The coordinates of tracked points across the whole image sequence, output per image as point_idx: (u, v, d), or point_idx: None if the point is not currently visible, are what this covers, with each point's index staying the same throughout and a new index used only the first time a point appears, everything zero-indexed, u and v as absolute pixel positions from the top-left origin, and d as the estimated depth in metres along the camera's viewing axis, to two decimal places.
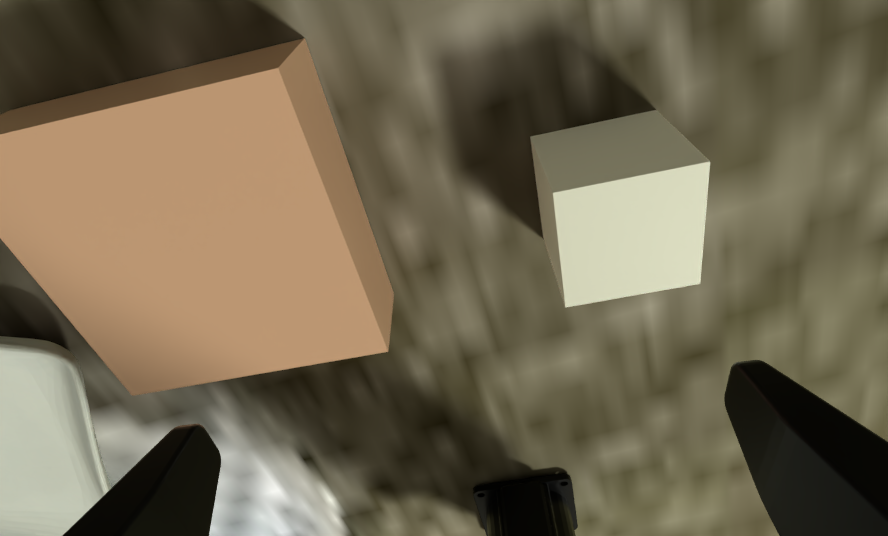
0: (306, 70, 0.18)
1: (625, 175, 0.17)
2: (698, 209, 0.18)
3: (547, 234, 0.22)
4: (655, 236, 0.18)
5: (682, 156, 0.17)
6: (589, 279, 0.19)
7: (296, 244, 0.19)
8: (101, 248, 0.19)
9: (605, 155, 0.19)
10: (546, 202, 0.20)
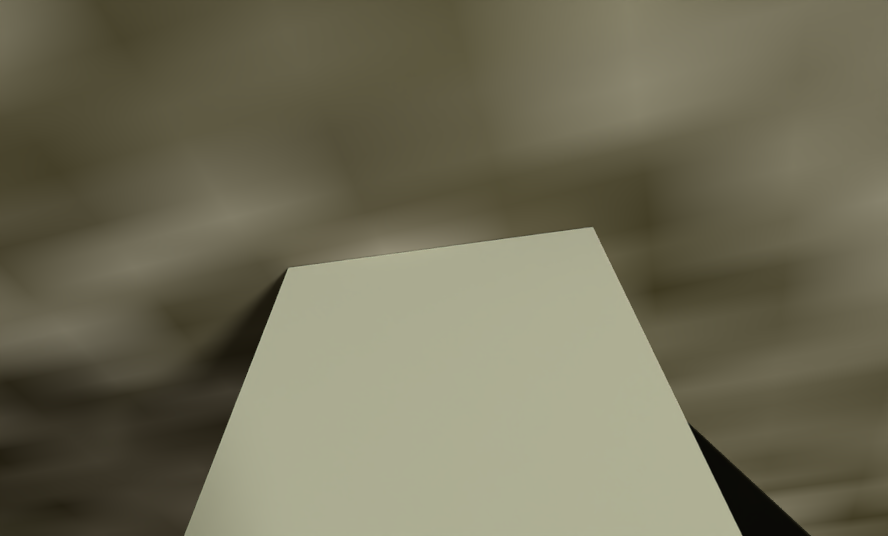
0: None
1: None
2: None
3: None
4: None
5: None
6: None
7: None
8: None
9: None
10: None
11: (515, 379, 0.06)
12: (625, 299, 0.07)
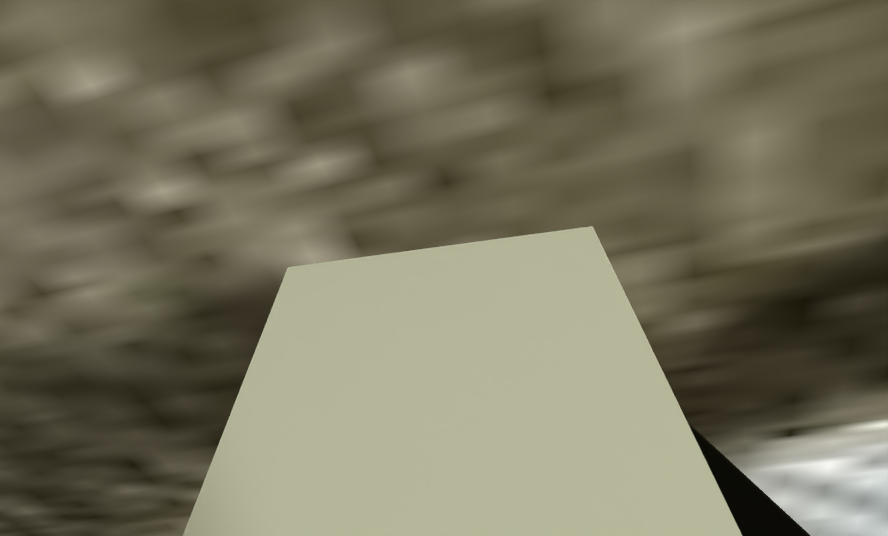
0: None
1: None
2: None
3: None
4: None
5: None
6: None
7: None
8: None
9: None
10: None
11: (515, 379, 0.06)
12: (625, 298, 0.07)
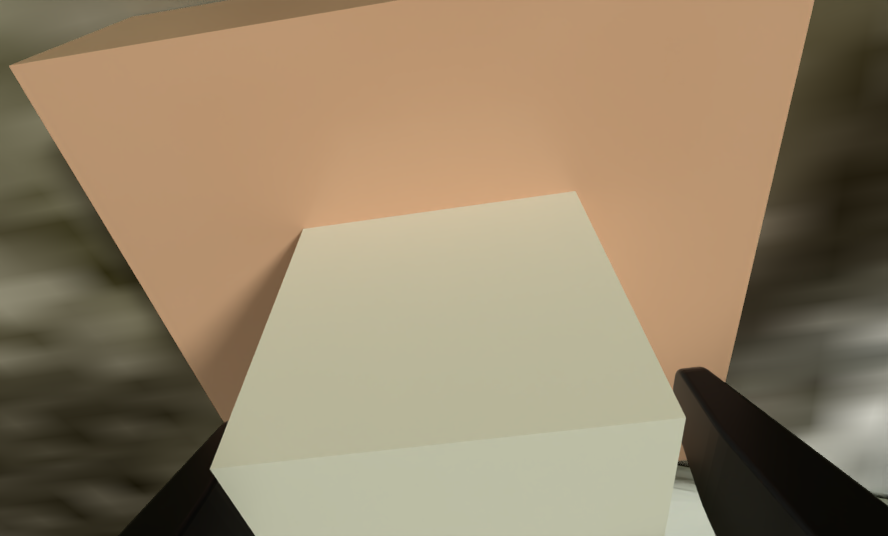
0: (143, 21, 0.10)
1: None
2: (372, 467, 0.06)
3: None
4: (461, 527, 0.06)
5: None
6: None
7: (420, 121, 0.09)
8: None
9: None
10: None
11: (503, 310, 0.07)
12: (600, 247, 0.08)
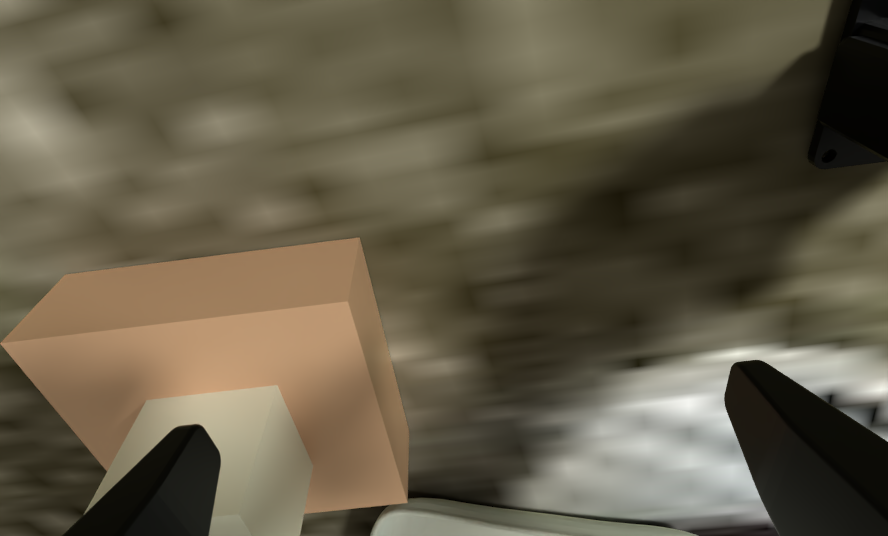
0: (68, 290, 0.20)
1: None
2: None
3: None
4: None
5: None
6: None
7: (193, 360, 0.19)
8: None
9: None
10: None
11: None
12: (264, 425, 0.18)
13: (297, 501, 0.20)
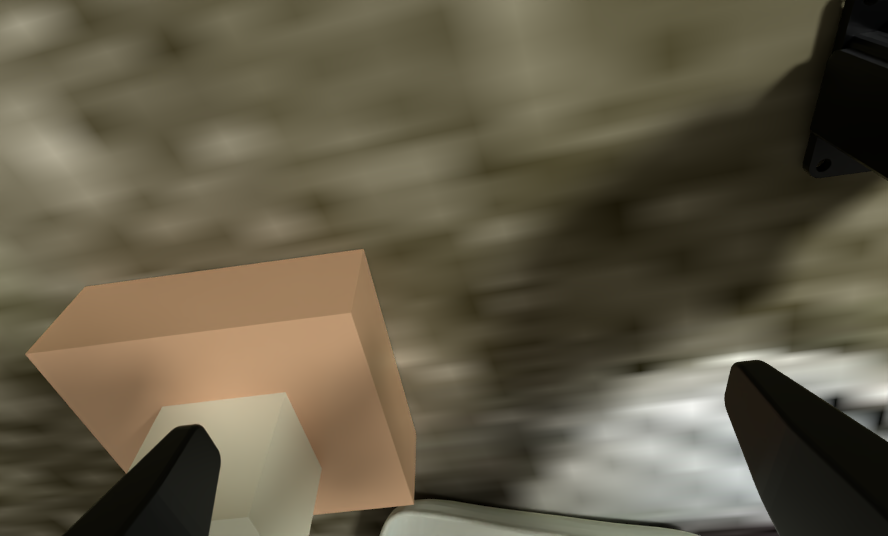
0: (88, 302, 0.21)
1: None
2: None
3: None
4: None
5: None
6: None
7: (205, 369, 0.20)
8: None
9: None
10: None
11: None
12: (273, 431, 0.19)
13: (306, 503, 0.21)
